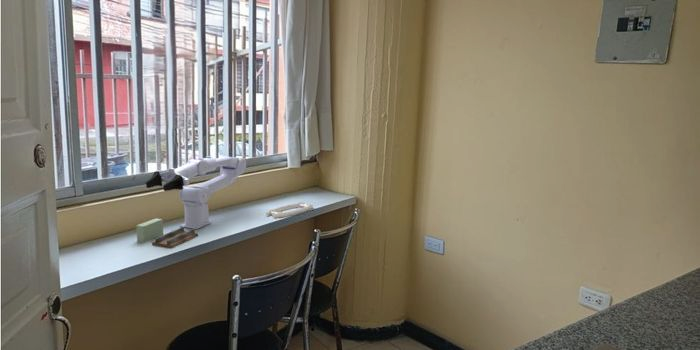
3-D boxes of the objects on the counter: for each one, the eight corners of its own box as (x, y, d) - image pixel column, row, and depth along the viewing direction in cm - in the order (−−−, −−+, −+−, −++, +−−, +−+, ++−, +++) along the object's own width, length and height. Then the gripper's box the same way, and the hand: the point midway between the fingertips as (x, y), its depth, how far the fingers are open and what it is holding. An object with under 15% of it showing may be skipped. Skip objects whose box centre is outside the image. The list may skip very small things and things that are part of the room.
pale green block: (156, 233, 185) (156, 218, 183) (163, 234, 184) (162, 219, 182) (137, 241, 175) (136, 225, 174) (144, 242, 174) (143, 226, 173)
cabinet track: (180, 232, 186) (180, 226, 185) (198, 235, 183) (197, 229, 183) (152, 244, 172) (152, 238, 172) (171, 248, 169) (170, 241, 169)
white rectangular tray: (261, 216, 213) (301, 205, 233) (277, 220, 207) (316, 209, 227) (261, 210, 213) (301, 200, 232) (277, 214, 207) (316, 204, 226)
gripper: (164, 161, 186) (137, 173, 174) (196, 167, 181) (170, 179, 169) (166, 179, 189) (140, 191, 177) (197, 184, 184) (173, 197, 172)
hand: (155, 186), depth 173 cm, fingers open, 7 cm apart
